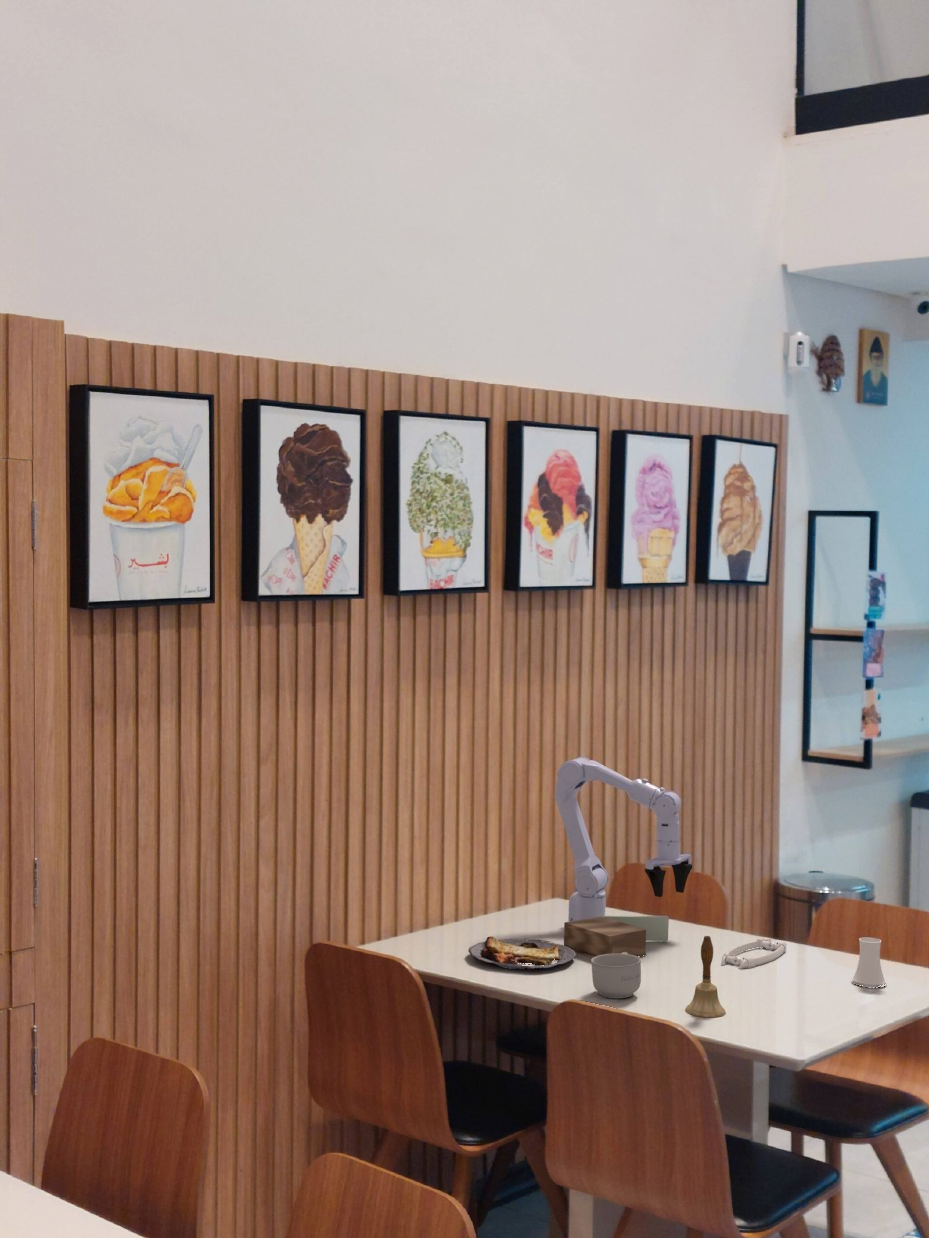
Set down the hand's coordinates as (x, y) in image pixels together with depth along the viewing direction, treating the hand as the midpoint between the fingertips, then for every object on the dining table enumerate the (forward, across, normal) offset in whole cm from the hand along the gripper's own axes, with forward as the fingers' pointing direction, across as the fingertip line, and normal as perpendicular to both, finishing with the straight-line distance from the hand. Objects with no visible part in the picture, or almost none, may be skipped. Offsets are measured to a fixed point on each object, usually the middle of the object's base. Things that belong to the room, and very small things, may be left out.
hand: (669, 894), depth 361 cm
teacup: (+12, -44, -28) cm, 53 cm away
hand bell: (+13, -38, -48) cm, 62 cm away
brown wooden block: (+11, -23, -1) cm, 26 cm away
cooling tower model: (+14, +9, -54) cm, 56 cm away
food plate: (+11, -44, +5) cm, 46 cm away
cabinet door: (+11, -9, +3) cm, 14 cm away
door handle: (+13, +5, -24) cm, 27 cm away
